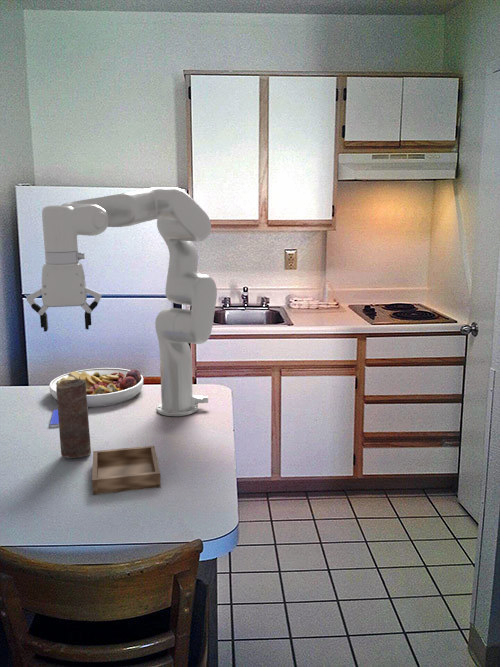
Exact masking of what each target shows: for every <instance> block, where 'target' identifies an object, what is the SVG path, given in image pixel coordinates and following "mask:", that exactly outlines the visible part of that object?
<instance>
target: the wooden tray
mask: <svg viewBox="0 0 500 667" xmlns="http://www.w3.org/2000/svg"><path fill="white" fill-rule="evenodd" d="M91 473H92V477H91V479H92V480H91V483H92V484H91V486H92V495H100V494H101V495H102V494H110V493H120V492H130V491H139V490H149V489H157V488H158V489H159V488H161V471H160V465H159V460H158V456H157V451H156V446H155V445H145V446H135V447H124V448H123V447H122V448H112V449H104V450H103V449H102V450H93V451H92V472H91Z"/></svg>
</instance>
